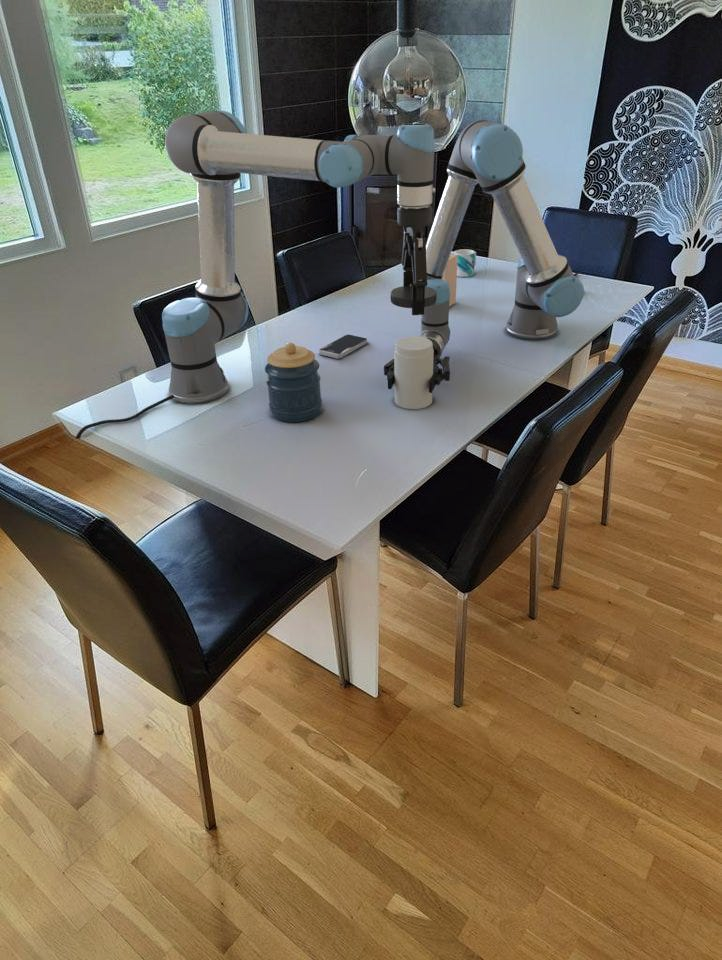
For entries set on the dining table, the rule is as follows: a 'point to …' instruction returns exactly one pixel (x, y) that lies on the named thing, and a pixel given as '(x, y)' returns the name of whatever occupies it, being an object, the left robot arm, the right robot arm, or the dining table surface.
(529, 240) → the right robot arm
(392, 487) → the dining table surface
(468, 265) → the mug
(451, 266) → the soap dispenser
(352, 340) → the smartphone
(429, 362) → the jar
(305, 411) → the canister
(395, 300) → the lid
